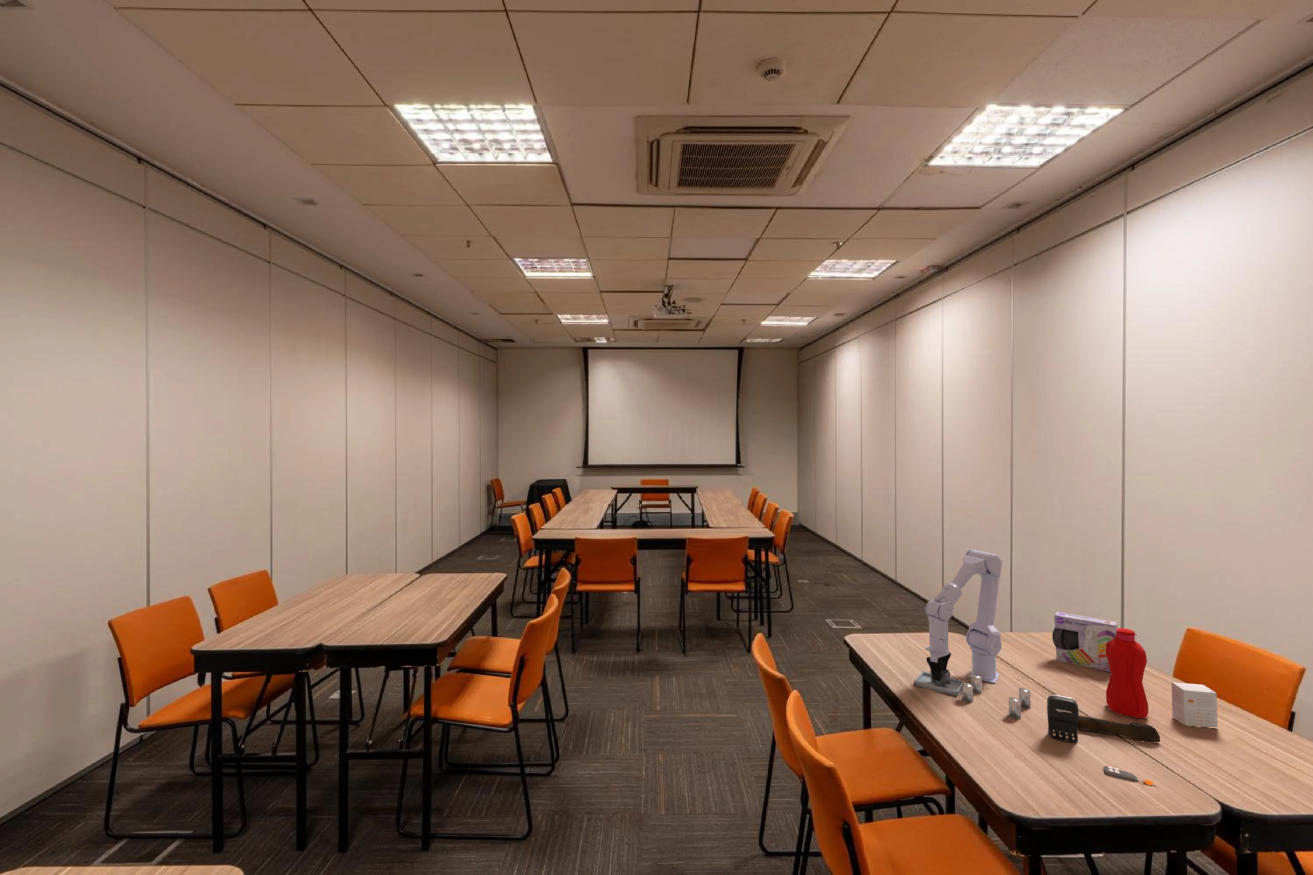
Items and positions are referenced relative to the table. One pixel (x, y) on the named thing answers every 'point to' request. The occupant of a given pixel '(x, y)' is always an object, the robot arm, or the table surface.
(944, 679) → the nut
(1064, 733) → the battery charger
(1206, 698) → the small box
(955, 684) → the tray
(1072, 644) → the cake pan box
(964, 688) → the cylinder
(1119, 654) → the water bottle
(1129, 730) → the dark brown bar
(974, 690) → the cylinder
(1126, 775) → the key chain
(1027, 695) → the cylinder
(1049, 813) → the table surface
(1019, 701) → the cylinder
